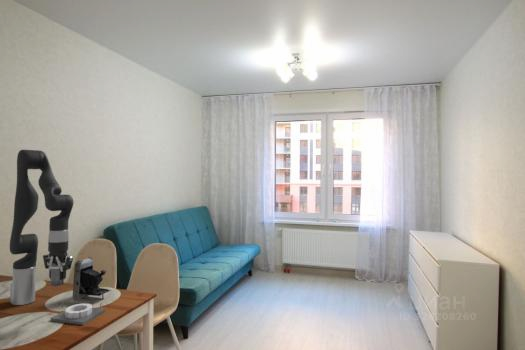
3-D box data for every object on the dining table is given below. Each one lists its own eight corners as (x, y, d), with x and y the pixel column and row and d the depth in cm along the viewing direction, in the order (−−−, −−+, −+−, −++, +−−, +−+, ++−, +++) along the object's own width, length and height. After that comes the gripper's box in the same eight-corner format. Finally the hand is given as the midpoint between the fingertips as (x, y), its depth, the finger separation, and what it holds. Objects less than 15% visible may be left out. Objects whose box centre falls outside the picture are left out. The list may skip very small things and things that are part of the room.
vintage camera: (98, 304, 161) (101, 264, 161) (71, 299, 164) (74, 260, 164) (110, 297, 170) (113, 259, 170) (85, 293, 173) (88, 256, 173)
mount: (50, 320, 140) (50, 312, 140) (74, 308, 154) (75, 300, 154) (82, 325, 137) (83, 316, 137) (104, 311, 151) (105, 304, 151)
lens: (47, 285, 140) (48, 264, 140) (57, 282, 145) (57, 261, 145) (57, 286, 139) (57, 265, 139) (66, 283, 144) (67, 262, 144)
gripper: (37, 240, 140) (36, 280, 140) (65, 242, 137) (64, 283, 137) (52, 237, 147) (51, 275, 147) (79, 239, 144) (78, 277, 144)
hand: (57, 278), depth 142 cm, fingers closed on lens, 4 cm apart
